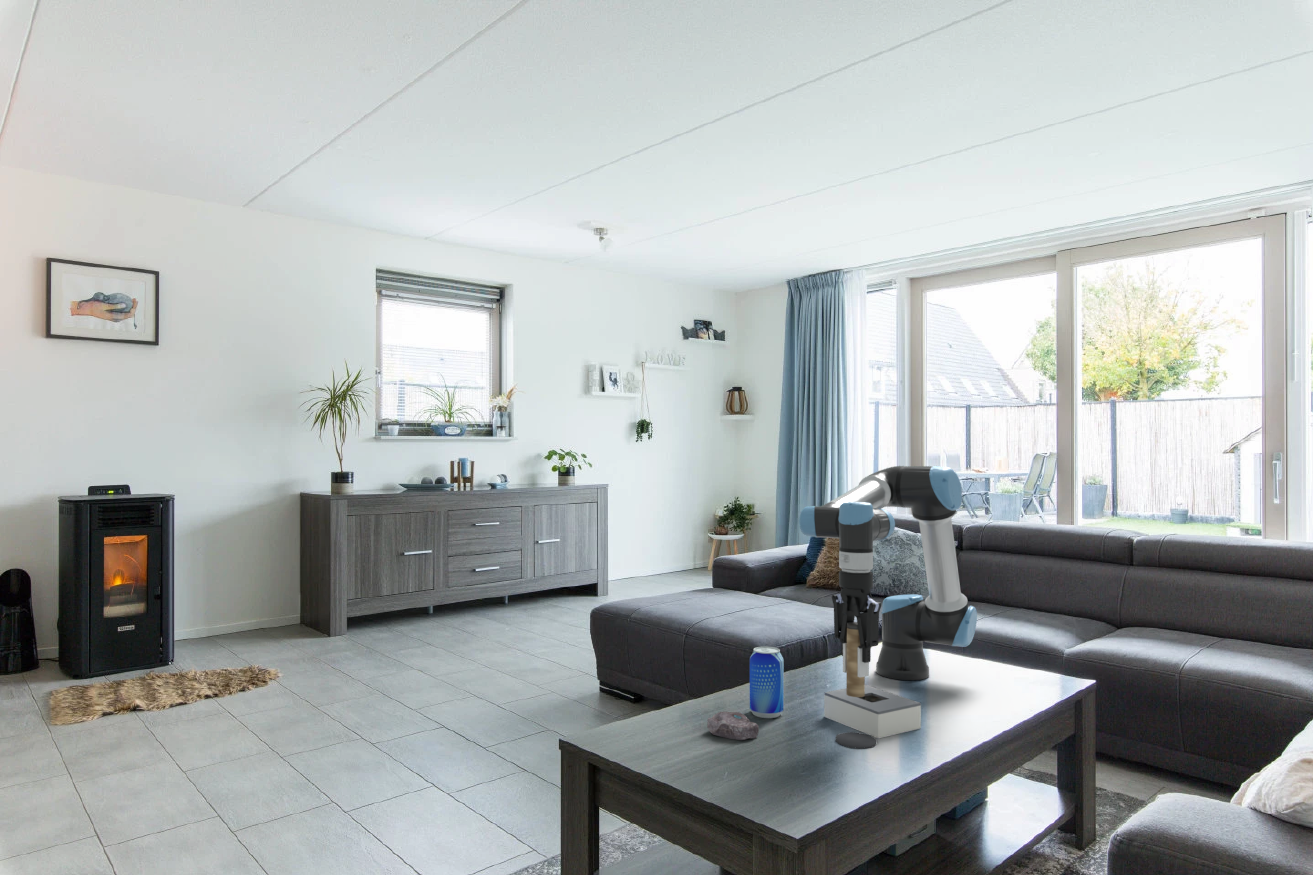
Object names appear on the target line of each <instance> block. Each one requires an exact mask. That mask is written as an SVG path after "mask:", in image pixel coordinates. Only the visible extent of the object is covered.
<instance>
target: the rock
mask: <svg viewBox="0 0 1313 875" xmlns="http://www.w3.org/2000/svg"><path fill="white" fill-rule="evenodd" d="M706 726H707V727H706V728H707V729H708V731H709V733H711V735H713V736H717V737H720V738H721V737H722V738H726V739H730V740H737V741H745V740H748V739H757V737H758V735H759V732H760V729H759V725H758V724H757V723H756V722H753V721H750V719H749V718H747V716H746V715H745V714H744V713H741V712H740V711H739V712H737V711H719V712H716V713H715V714H713V715H712V717H708V718H707V724H706Z"/></svg>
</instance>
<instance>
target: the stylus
mask: <svg viewBox="0 0 1313 875" xmlns="http://www.w3.org/2000/svg"><path fill="white" fill-rule="evenodd" d="M858 646H860V639H859V632H858V624H857V621H854V622H848V623H847V673H846V679H845V680H846V683H845V685H846V694H847V695H848V696H851V697H863V696H865V685H866V683H865V679H866V678H865V677H858Z"/></svg>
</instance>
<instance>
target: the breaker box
mask: <svg viewBox="0 0 1313 875" xmlns="http://www.w3.org/2000/svg"><path fill="white" fill-rule="evenodd" d="M823 695H824V696H823V697H824V699H823V700H824V701H823V702H824V704H823V705H824V706H823V708H824V711H823V714H824V716H823V717H824V718H827V719H829V720H831V721H834V722H836V723H839V724H842V725H844V726H846V727H849V728H852V729H854V730H857V731H859V732H860V733H863V734H867V735H870V736H872V737H874V738H875V739H882V738H886V737H889V736H890V737H891V736H894V735H897V734H902V733H907V732H911V731H916V730H919V729H921V728H922V703H921V702H919V701H916V700H913V699H910V698H907V697H904V696H902V695H898V694H895V693H892V692H889V691H886V690H883V689H880V688H877V687H874V686H871V685H867V684H865V696H863V697H851V696H848V695H847V694H846V688H840V689H835V690H831V691H826V692H824V693H823Z"/></svg>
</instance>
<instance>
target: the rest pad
mask: <svg viewBox="0 0 1313 875" xmlns="http://www.w3.org/2000/svg"><path fill="white" fill-rule="evenodd" d="M835 742H836V743H837V744H838V745H840V746H842V747H846V748H849V749H850V748H851V749H861V750H862V749H864V750H865V749H871V748H874V747H876V745H877V738H876V737H874V736H871V735H869V734H866V733H864V732H856V731H855V732H852V731H851V732H850V731H847V732H841V733H838V734H836V735H835Z"/></svg>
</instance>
